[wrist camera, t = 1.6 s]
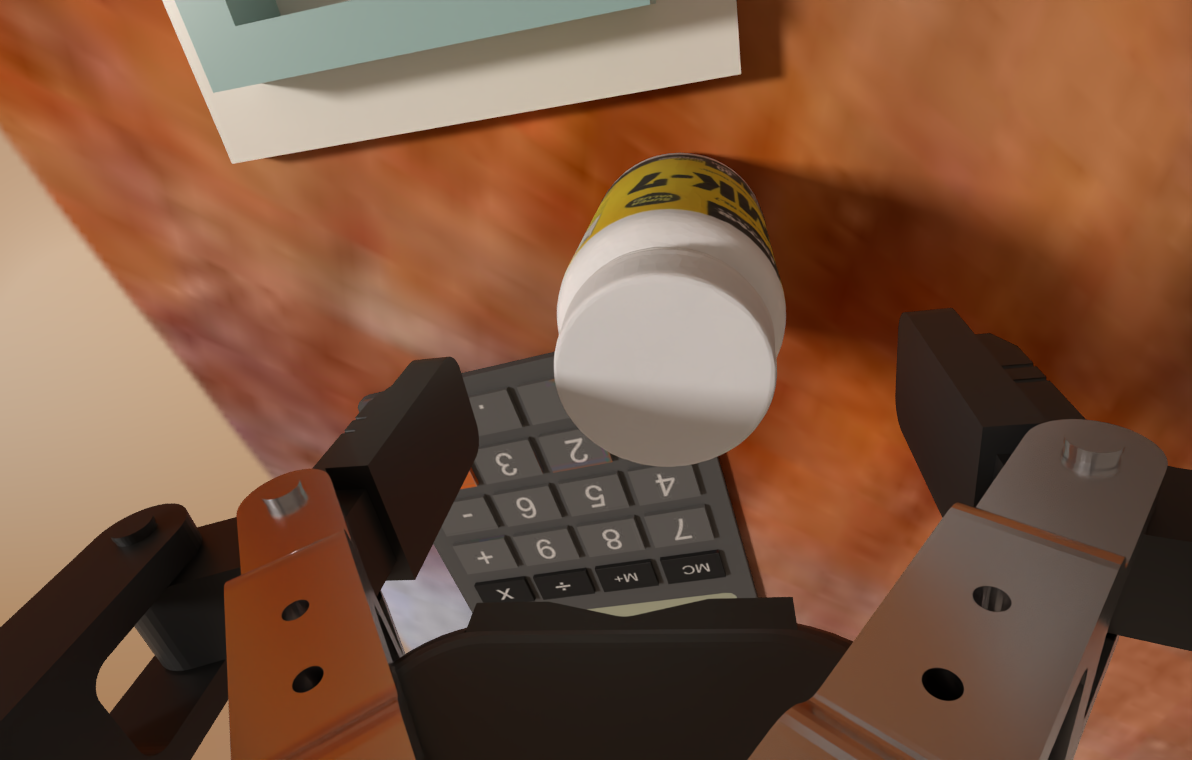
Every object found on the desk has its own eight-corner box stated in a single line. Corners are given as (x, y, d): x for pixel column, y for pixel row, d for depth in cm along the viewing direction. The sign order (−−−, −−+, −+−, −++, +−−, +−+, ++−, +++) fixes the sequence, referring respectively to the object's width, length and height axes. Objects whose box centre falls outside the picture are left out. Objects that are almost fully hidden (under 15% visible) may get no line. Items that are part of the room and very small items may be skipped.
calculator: (679, 330, 20) (773, 658, 26) (680, 317, 21) (771, 639, 27) (351, 405, 23) (508, 682, 29) (362, 391, 24) (513, 664, 30)
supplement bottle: (793, 183, 18) (857, 312, 11) (723, 331, 20) (736, 517, 13) (624, 122, 18) (573, 210, 10) (574, 279, 20) (504, 439, 13)
